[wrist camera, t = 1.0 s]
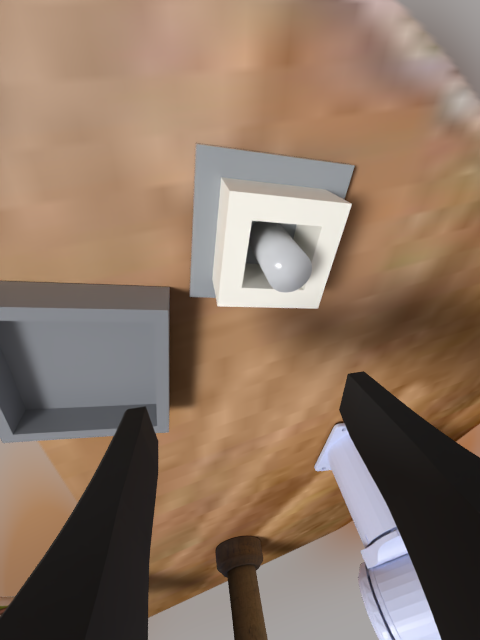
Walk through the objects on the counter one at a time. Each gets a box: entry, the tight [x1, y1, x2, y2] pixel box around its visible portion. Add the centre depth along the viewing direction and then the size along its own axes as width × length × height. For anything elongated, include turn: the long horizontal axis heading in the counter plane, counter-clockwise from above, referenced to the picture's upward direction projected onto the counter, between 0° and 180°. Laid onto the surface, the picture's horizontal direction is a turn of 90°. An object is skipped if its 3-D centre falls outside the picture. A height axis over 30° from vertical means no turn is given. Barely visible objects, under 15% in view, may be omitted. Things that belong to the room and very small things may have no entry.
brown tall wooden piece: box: [216, 536, 267, 640], centre depth 36 cm, size 7×6×18 cm
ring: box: [212, 177, 352, 309], centre depth 15 cm, size 6×6×3 cm
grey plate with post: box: [190, 143, 355, 298], centre depth 15 cm, size 8×8×5 cm
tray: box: [0, 281, 170, 443], centre depth 19 cm, size 11×11×3 cm
